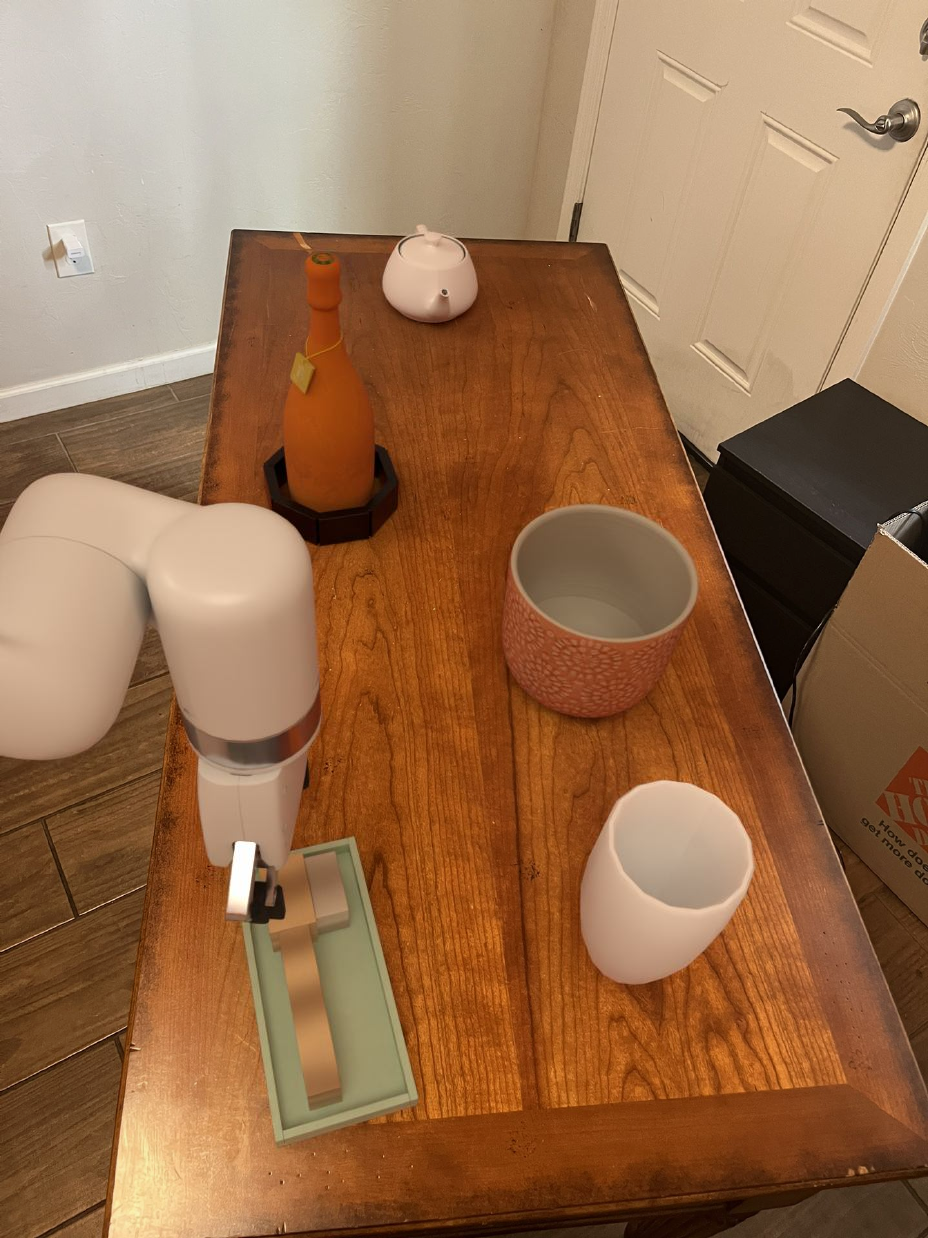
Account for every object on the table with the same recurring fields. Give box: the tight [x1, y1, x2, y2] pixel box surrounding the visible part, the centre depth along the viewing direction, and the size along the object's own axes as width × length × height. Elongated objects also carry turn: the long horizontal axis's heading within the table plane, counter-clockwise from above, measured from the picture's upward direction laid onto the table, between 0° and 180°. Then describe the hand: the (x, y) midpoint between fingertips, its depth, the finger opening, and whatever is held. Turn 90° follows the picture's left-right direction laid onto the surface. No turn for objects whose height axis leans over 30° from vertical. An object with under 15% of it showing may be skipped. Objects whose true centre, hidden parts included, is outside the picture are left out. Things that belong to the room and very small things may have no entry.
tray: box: [241, 835, 419, 1149], centre depth 73 cm, size 10×21×2 cm, turn 17°
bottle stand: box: [262, 443, 400, 547], centre depth 108 cm, size 14×14×4 cm
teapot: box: [382, 223, 479, 324], centre depth 133 cm, size 22×14×11 cm, turn 11°
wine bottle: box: [282, 252, 376, 513], centre depth 98 cm, size 10×10×30 cm
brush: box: [258, 851, 349, 1111], centre depth 72 cm, size 18×6×4 cm, turn 17°
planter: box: [501, 503, 700, 719], centre depth 90 cm, size 17×17×15 cm
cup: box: [579, 779, 756, 986], centre depth 68 cm, size 10×10×22 cm
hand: (274, 846), depth 65 cm, fingers open, 9 cm apart
